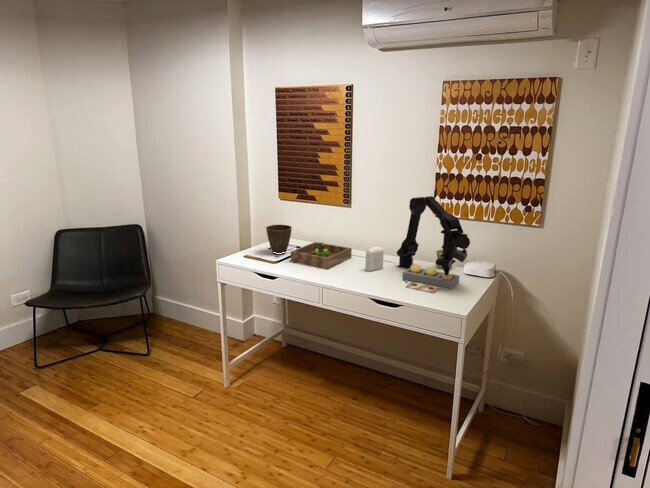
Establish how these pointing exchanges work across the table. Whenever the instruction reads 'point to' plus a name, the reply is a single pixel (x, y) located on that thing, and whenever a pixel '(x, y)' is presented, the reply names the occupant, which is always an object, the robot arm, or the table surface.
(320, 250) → the plant
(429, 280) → the board
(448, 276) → the button
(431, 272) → the button
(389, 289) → the table surface
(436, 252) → the plant pot
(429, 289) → the card
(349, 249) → the brown wooden tray
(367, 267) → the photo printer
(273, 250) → the plant pot
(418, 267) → the button
